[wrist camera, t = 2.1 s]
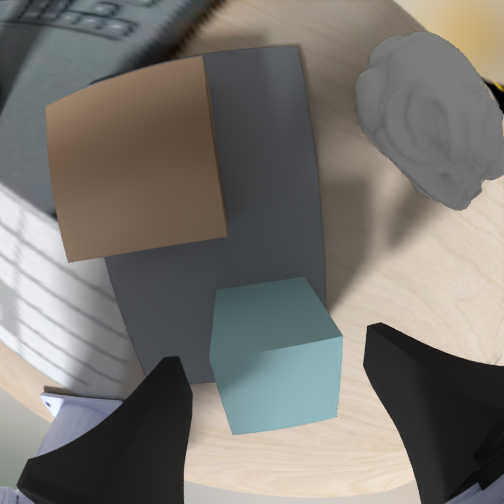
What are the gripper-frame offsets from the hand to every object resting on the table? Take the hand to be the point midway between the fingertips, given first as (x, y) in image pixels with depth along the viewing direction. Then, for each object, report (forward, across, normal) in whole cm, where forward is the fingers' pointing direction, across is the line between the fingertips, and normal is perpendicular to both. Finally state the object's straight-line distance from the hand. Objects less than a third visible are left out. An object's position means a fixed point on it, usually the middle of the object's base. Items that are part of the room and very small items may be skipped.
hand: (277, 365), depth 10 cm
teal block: (+3, 0, 0) cm, 3 cm away
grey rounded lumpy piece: (+4, -7, -9) cm, 12 cm away
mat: (+4, +2, -4) cm, 6 cm away
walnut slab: (+3, +4, -8) cm, 10 cm away
